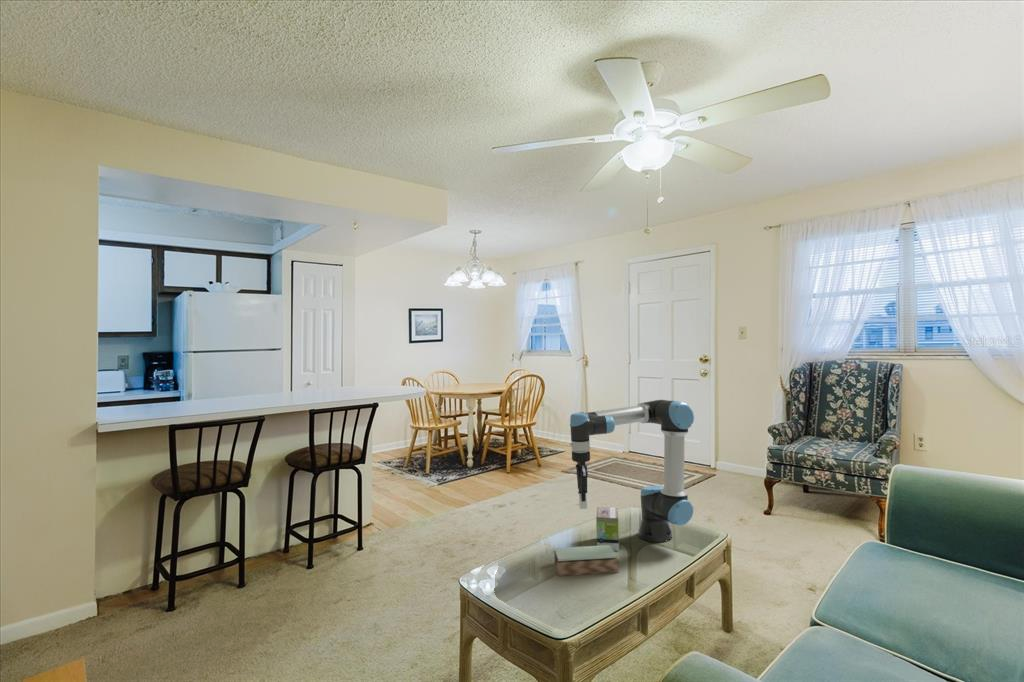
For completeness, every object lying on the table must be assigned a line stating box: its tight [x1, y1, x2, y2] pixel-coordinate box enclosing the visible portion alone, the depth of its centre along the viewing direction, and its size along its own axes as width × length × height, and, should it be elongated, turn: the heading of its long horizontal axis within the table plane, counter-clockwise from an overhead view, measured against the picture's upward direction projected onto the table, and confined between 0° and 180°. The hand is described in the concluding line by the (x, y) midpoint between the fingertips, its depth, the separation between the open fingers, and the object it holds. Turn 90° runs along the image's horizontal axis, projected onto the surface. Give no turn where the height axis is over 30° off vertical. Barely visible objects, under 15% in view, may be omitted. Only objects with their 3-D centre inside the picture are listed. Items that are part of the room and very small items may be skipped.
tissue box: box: [553, 550, 619, 577], centre depth 196 cm, size 24×12×5 cm, turn 93°
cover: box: [554, 545, 618, 561], centre depth 196 cm, size 24×12×1 cm, turn 93°
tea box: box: [595, 506, 620, 552], centre depth 219 cm, size 15×10×15 cm
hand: (583, 508), depth 197 cm, fingers closed
